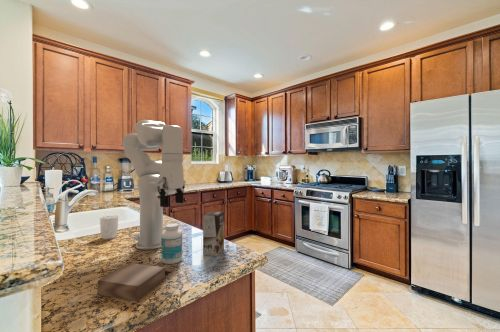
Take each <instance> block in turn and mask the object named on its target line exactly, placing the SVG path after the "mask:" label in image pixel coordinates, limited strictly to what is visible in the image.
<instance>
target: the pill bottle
mask: <svg viewBox="0 0 500 332" xmlns="http://www.w3.org/2000/svg"><path fill="white" fill-rule="evenodd" d="M164 226H165V227H164V229H165V230H163V233H162V235H161V247H160V248H161V254H160V256H161V257H160V259H161V262H162V263H163V264H165V265H174V264H177V263H179V262H180V261H182V260H183V232H182V231H181V229H179V224H178V223H167V224H165V225H164Z"/></svg>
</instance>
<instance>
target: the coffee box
mask: <svg viewBox="0 0 500 332" xmlns="http://www.w3.org/2000/svg"><path fill="white" fill-rule="evenodd" d="M202 217H203V219H202V221H203V222H202V226H203V227H202V255H203V256H204V255H205V256H213V257H214V256H215V257H217V256H219V254H221V253H222V251H223V250H224V249H225V211H223V210H222V211H220V210H219V211H218V210H217V211H216V210H215V211H213V210H211V211H209V212H207V213H205V214H203V216H202Z"/></svg>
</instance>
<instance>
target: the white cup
mask: <svg viewBox="0 0 500 332" xmlns="http://www.w3.org/2000/svg"><path fill="white" fill-rule="evenodd" d="M99 227H100V235H101V236H100V237H101V239H103V240H110V239H114V238H116V237H118V230H119V229H118V228H119V216H118V215H114V214H113V215H104V216H100V217H99Z"/></svg>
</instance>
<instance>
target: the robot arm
mask: <svg viewBox="0 0 500 332" xmlns="http://www.w3.org/2000/svg"><path fill="white" fill-rule="evenodd" d="M134 131H135V132H134V133H133V132H132V133H131V132H130V133H128V134H126V135H124V136H123V139H122V148H123V151H124V153H125V156H126V157H127V158H128V159H129V161H130V162H131V164H132V165H133V169H134V171H135V174H136V176H137V178H138V181H137V191H138V195H139V196H138V197H139V198H138V199H139V234H138V233H136V234H135V235H134V236H133V238H132V240H133V241H137V242H136V244H135V248H136V249H138V250H142V251H144V250H145V251H146V250H147V251H148V250H155V249H160V248H161V235H162V233H163V232H164V208H168V207H169V206H170V195H174V194H175V196H174V197H175V198H174V199H175V201H174V202H175V203H176V204H184V192H185V187H186V186H185V185H186V180H185V178H184V167H183V165H184V164H183V162H184V158H183V157H184V155H183V154H184V153H183V152H184V149H183V148H184V147H183V146H184V145H183V144H184V142H183V141H184V140H183V139H184V138H183V137H184V136H183V135H184V131H183V128H182V126H179V125H172V124H171V125H168V124H166V123H165V122H164V121H163V122H162V121H158V120H157V121H156V120H152V119H151V120H150V119H141V120H138V121H137V122H136V123H135V124H134ZM160 148H161V160H153V159H151V157H150V156H149V154H148V153H146V151H152V152H153V151H154V152H155V151H158V150H159V149H160ZM158 196H159V197H158ZM169 208H170V207H169Z"/></svg>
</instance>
